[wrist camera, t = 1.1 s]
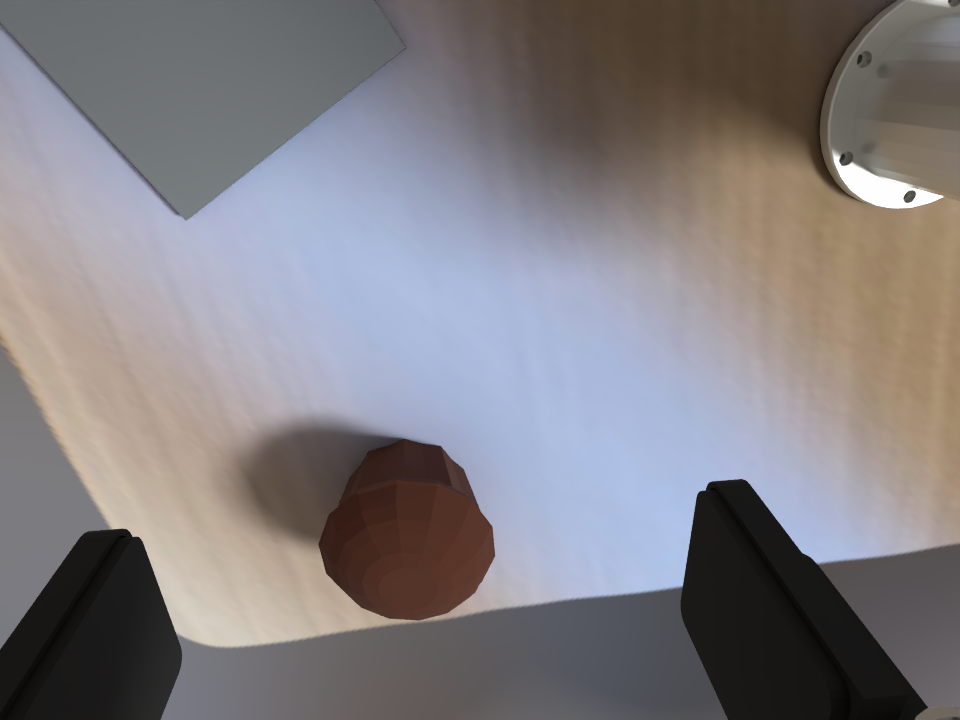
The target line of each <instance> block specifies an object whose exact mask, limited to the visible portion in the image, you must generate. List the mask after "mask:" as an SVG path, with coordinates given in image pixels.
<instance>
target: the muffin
mask: <svg viewBox="0 0 960 720" xmlns="http://www.w3.org/2000/svg"><path fill="white" fill-rule="evenodd" d="M319 548H320V551H321V555H322V559H323V563H324V567H325V570H326V574H327V575H328V576H329V577H330V578H331V579H332V580H333V581H334V582H335V583H336V584H337V585H338V586H339V587H340V588H341V589H342V590H343V591H344V592H345V593H346V594H347V595H348V596H349V597H350V598H352V599H353V600H354V601H355V602H356V603H357V604H358V605H359V606H360V607H361V608H364V609H366V610H369V611H371V612H374V613H376V614H379V615H381V616H384V617H386V618H389V619H406V620H422V619H426V618H430V617H434V616H438V615H442V614H446V613H448V612H450V611H451V610H452V609H454V608H455V607H457V606H458V605H459V604H461V603H462V602H464V601H465V600H466V599H468V598H469V597H470V596H471V595H473V594H474V593H475V592H476V590H477V588H478V586H479V584H480V583H481V582H482V580H483V578H484V576H485V575H486V573H487V571H488V569H489V567H490V565H491V563H492V561H493V559H494V557H495V550H494V539H493V529H492V526H491V524H490V523H489V522H488V520H487V519H486V518H485V517H484V515H483V514H482V513H481V511H480V509H479V506H478V504H477V501H476V499H475V496H474V494H473V491H472V489H471V486H470V484H469V482H468V479H467V477H466V474H465V472H464V469H463V468H461V467H460V466H459V465H458V464H457V463H455V462H454V461H453V460H452V459H451V458H450V457H449V456H448V455H447V453H446V452H445V451H444V450H443V448H442V447H441V446H435V445H427V444H420V443H417V442H413V441H410V440H406V439H403V440H401V441H398V442H396V443H394V444H392V445H389V446H387V447H383V448H379V449H376V450H372V451H369V452H368V454H367V456H366V457H365V459H364V461H363V463H362V464H361V466H360V467H359V468H358V469H357V470H356V471H355V473H354V474H353V475H352V476H351V477H350V479H349V481H348V484H347V486H346V488H345V491H344V493H343V496H342V498H341V500H340V503H339V505H338V508H337V509H335V510H334V511H333V512H332V513H330V514H329V517H328V519H327V522H326V525H325V528H324V530H323V533H322V536H321V539H320V541H319Z"/></svg>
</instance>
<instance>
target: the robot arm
mask: <svg viewBox="0 0 960 720" xmlns="http://www.w3.org/2000/svg"><path fill="white" fill-rule="evenodd" d="M820 141H821V150H822V154H823V157H824V160H825V163H826V166H827V169H828V171H829V172H830V174H831V176H832V177H833V179H834V181H835V182H836V183H837V184H838V185H839V186H840V187H841V188H842V189H843V190H844V191H845V192H846V193H847V194H849V195H850V196H852V197H854V198H856V199H857V200H859V201H861V202H864V203H868V204H870V205H873V206H876V207H882V208H888V209H908V208H913V207H917V206H921V205H925V204H929V203H931V202H933V201H936V200H938V199H940V198H943V197H947V198H950V199H954V200H958V201H960V0H897V1H896V2H894V3H893V4H891V5H890V6H888V7H887V8H885V9H884V10H883V11H881V12H880V13H879V14H878V15H877V16H876V17H875V18H874V19H873V20H871V21H870V22H869V23H868V24H867V25H866V26H865V27H864V28H863V29H862V30H861V32H860V33H859V34H858V35H857V37H856V38H855V39H854V40H853V42H852V43H851V44H850V45H849V47H848V48H847V50H846V51H845V53H844V55H843V56H842V58H841V60H840V62H839V63H838V65H837V67H836V68H835V71H834V73H833V75H832V78H831V80H830V83H829V85H828V88H827V90H826V94H825V98H824V102H823V106H822V110H821V120H820ZM681 614H682V618H683V621H684V624H685V627H686V629H687V631H688V633H689V635H690V638H691V640H692V642H693V644H694V646H695V648H696V651H697V653H698V655H699V657H700V659H701V661H702V664H703V666H704V668H705V670H706V672H707V674H708V677H709V679H710V681H711V683H712V685H713V688H714V690H715V692H716V694H717V696H718V699H719V701H720V703H721V705H722V707H723V710H724V712H725V714H726V716H727V718H728V720H960V707H951V706H937V707H932V708H928V707H927V706H926V705H925V703H924V702H923V700H922V699H921V698H920V697H919V695H918V694H917V693H916V691H915V690H914V689H913V688H912V686H911V685H910V684H909V682H908V681H907V680H906V678H905V677H904V676H903V675H902V673H901V672H900V671H899V669H898V668H897V667H896V666H895V664H894V663H893V662H892V660H891V659H890V658H889V657H888V655H887V654H886V653H885V651H884V650H883V649H882V648H881V646H880V645H879V644H878V642H877V641H876V640H875V638H874V637H873V636H872V635H871V633H870V632H869V631H868V629H867V628H866V627H865V625H864V624H863V623H862V622H861V620H860V619H859V618H858V616H857V615H856V614H855V612H854V611H853V610H852V609H851V607H850V606H849V605H848V603H847V602H846V601H845V599H844V598H843V597H842V596H841V594H840V593H839V592H838V591H837V589H836V588H835V587H834V585H833V584H832V583H831V581H830V580H829V579H828V578H827V576H826V575H825V574H824V572H823V571H822V570H821V568H820V567H819V566H818V565H817V564H816V563H815V561H814V560H813V559H812V558H811V557H809V556H807V555H805V554H802V552H801V551H800V550H799V549H798V547H797V546H796V545H795V543H794V542H793V541H792V539H791V538H790V537H789V535H788V534H787V533H786V531H785V530H784V529H783V527H782V526H781V525H780V524H779V522H778V521H777V520H776V518H775V517H774V516H773V514H772V513H771V512H770V510H769V509H768V508H767V506H766V505H765V504H764V502H763V501H762V500H761V498H760V497H759V496H758V495H757V493H756V492H755V491H754V489H753V488H752V487H751V485H750V484H749V483H748V482H747V481H746V480H743V479H738V480H726V481H713V482H710V483H709V484H708V485H707V488H706V491H700V492H699V493H698V495H697V499H696V506H695V512H694V518H693V525H692V531H691V538H690V544H689V551H688V557H687V564H686V570H685V577H684V583H683V590H682V596H681ZM181 662H182V650H181V646H180V643H179V641H178V638H177V635H176V632H175V630H174V627H173V624H172V621H171V619H170V616H169V613H168V610H167V608H166V605H165V602H164V599H163V597H162V594H161V591H160V588H159V586H158V583H157V580H156V577H155V575H154V572H153V569H152V566H151V563H150V561H149V558H148V555H147V552H146V550H145V547H144V544H143V542H142V540H141V539H140V538H139V537H132V535H131V533H130V532H129V531H128V530H127V529H113V530H100V531H89V532H86V533H84V534H83V535H82V536H81V537H80V538H79V540H78V541H77V543H76V544H75V545H74V547H73V548H72V550H71V551H70V552H69V554H68V555H67V557H66V558H65V559H64V561H63V562H62V564H61V565H60V566H59V568H58V569H57V571H56V572H55V573H54V575H53V576H52V578H51V579H50V581H49V582H48V584H47V585H46V586H45V588H44V589H43V590H42V592H41V593H40V595H39V596H38V597H37V599H36V600H35V602H34V603H33V605H32V606H31V607H30V609H29V610H28V612H27V613H26V614H25V616H24V617H23V618H22V620H21V621H20V623H19V624H18V626H17V627H16V629H15V630H14V631H13V633H12V634H11V635H10V637H9V638H8V640H7V641H6V642H5V644H4V645H3V647H2V648H1V650H0V720H160V719H161V717H162V714H163V712H164V709H165V707H166V704H167V702H168V699H169V697H170V694H171V692H172V689H173V687H174V684H175V681H176V679H177V676H178V674H179V671H180V667H181Z"/></svg>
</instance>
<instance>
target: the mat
mask: <svg viewBox="0 0 960 720" xmlns="http://www.w3.org/2000/svg"><path fill="white" fill-rule="evenodd" d="M0 23H1V24H2V25H3V26H4V27H5V28H6V29H7V30H8V32H9V33H10V34H11V35H12V36H13V37H14V38H15V39H16V40H17V41H18V42H19V43H20V44H21V45H22V46H23V48H24V49H25V50H26V51H27V52H28V53H29V54H30V55H31V56H32V57H33V58H34V59H35V60H36V61H37V62H38V64H39V65H40V66H41V67H42V68H43V69H44V70H45V71H46V72H47V73H48V74H49V75H50V76H51V77H52V78H53V80H54V81H55V82H56V83H57V84H58V85H59V86H60V87H61V88H62V89H63V90H64V91H65V92H66V93H67V94H68V96H69V97H70V98H71V99H72V100H73V101H74V102H75V103H76V104H77V105H78V106H79V107H80V108H81V109H82V110H83V112H84V113H85V114H86V115H87V116H88V117H89V118H90V119H91V120H92V121H93V122H94V123H95V124H96V125H97V126H98V128H99V129H100V130H101V131H102V132H103V133H104V134H105V135H106V136H107V137H108V138H109V139H110V140H111V141H112V142H113V144H114V145H115V146H116V147H117V148H118V149H119V150H120V151H121V152H122V153H123V154H124V155H125V156H126V157H127V158H128V160H129V161H130V162H131V163H132V164H133V165H134V166H135V167H136V168H137V169H138V170H139V171H140V172H141V173H142V174H143V176H144V177H145V178H146V179H147V180H148V181H149V182H150V183H151V184H152V185H153V186H154V187H155V188H156V189H157V190H158V192H159V193H160V194H161V195H162V196H163V197H164V198H165V199H166V200H167V201H168V202H169V203H170V204H171V205H172V206H173V208H174V209H175V210H176V211H177V212H178V213H179V214H180V215H181V216H182V217H183V218H184V219H185V220H188V219H189V218H190V217H192V216H193V215H194V214H196V213H197V212H198V211H199V210H201V209H202V208H203V207H204V206H206V205H207V204H208V203H209V202H211V201H212V200H213V199H215V198H216V197H217V196H218V195H220V194H221V193H222V192H223V191H225V190H226V189H227V188H229V187H230V186H231V185H232V184H234V183H235V182H236V181H237V180H239V179H240V178H241V177H242V176H244V175H245V174H246V173H248V172H249V171H250V170H251V169H253V168H254V167H255V166H256V165H258V164H259V163H260V162H261V161H263V160H264V159H265V158H267V157H268V156H269V155H270V154H272V153H273V152H274V151H275V150H277V149H278V148H279V147H281V146H282V145H283V144H284V143H286V142H287V141H288V140H289V139H291V138H292V137H293V136H294V135H296V134H297V133H298V132H300V131H301V130H302V129H303V128H305V127H306V126H307V125H308V124H310V123H311V122H312V121H313V120H315V119H316V118H317V117H319V116H320V115H321V114H322V113H324V112H325V111H326V110H327V109H329V108H330V107H331V106H333V105H334V104H335V103H336V102H338V101H339V100H340V99H341V98H343V97H344V96H345V95H346V94H348V93H349V92H350V91H352V90H353V89H354V88H355V87H357V86H358V85H359V84H360V83H362V82H363V81H364V80H366V79H367V78H368V77H369V76H371V75H372V74H373V73H374V72H376V71H377V70H378V69H379V68H381V67H382V66H383V65H385V64H386V63H387V62H388V61H390V60H391V59H392V58H393V57H395V56H396V55H397V54H398V53H400V52H401V51H402V50H404V49H405V48H406V47H405V45H404V44H403V42H402V41H401V39H400V38H399V36H398V35H397V33H396V32H395V30H394V29H393V27H392V26H391V24H390V23H389V21H388V20H387V18H386V17H385V15H384V14H383V12H382V11H381V9H380V8H379V6H378V5H377V3H376V2H375V0H0Z"/></svg>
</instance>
